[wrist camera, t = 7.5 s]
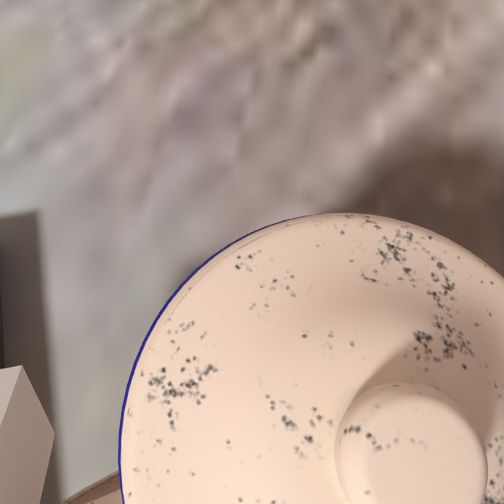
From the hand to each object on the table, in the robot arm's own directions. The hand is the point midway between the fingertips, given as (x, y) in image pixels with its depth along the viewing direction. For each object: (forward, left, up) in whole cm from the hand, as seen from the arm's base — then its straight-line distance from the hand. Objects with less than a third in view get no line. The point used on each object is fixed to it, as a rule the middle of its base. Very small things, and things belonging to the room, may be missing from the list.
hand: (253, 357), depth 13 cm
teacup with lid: (0, +2, -5) cm, 5 cm away
